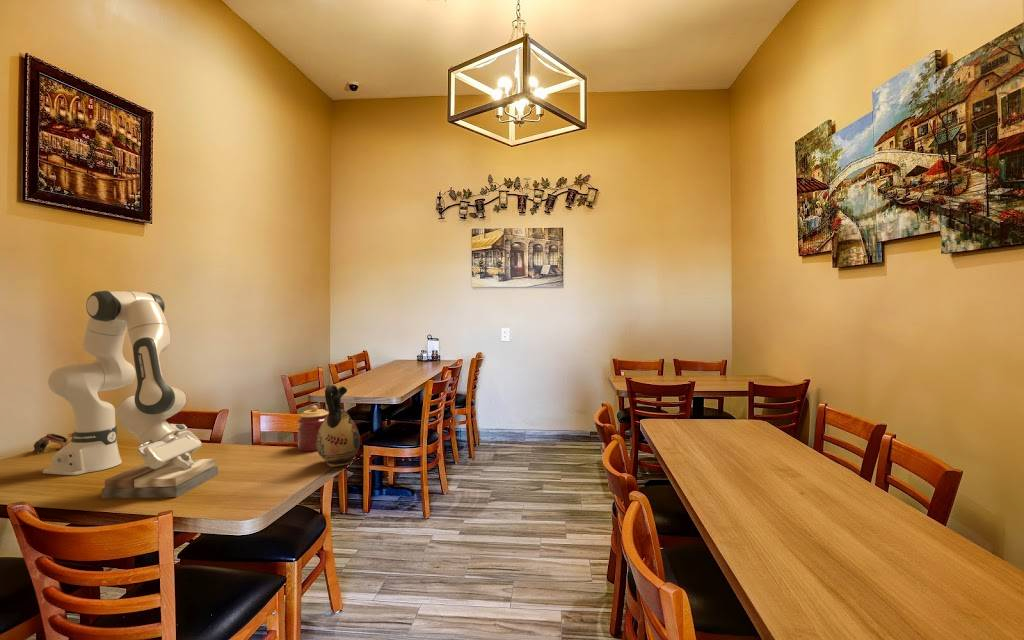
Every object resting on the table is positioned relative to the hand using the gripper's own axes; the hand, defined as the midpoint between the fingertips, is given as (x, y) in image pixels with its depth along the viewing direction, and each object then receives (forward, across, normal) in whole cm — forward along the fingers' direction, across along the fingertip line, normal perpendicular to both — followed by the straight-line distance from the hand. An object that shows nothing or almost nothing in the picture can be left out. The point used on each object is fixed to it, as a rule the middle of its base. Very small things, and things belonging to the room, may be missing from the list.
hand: (190, 466), depth 152 cm
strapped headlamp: (-58, +41, +67) cm, 97 cm away
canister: (+21, +42, -12) cm, 48 cm away
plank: (-1, 0, +5) cm, 5 cm away
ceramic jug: (+34, +20, -24) cm, 46 cm away
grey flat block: (-2, 0, +11) cm, 11 cm away
